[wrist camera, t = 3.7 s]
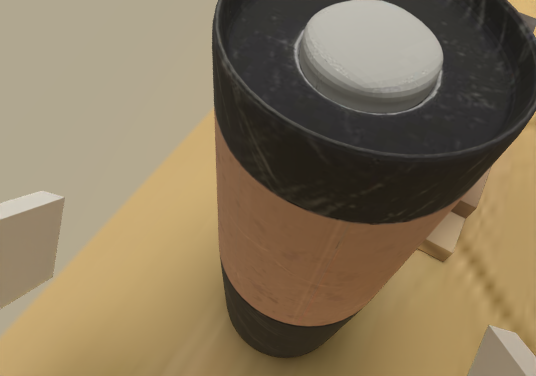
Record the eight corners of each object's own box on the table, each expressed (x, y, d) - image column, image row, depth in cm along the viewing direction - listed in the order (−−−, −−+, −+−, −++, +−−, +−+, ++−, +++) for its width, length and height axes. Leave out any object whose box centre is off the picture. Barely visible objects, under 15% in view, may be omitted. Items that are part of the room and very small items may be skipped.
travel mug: (237, 379, 24) (254, 202, 7) (211, 256, 27) (180, -57, 10) (361, 344, 25) (633, 128, 8) (320, 232, 29) (448, -74, 12)
